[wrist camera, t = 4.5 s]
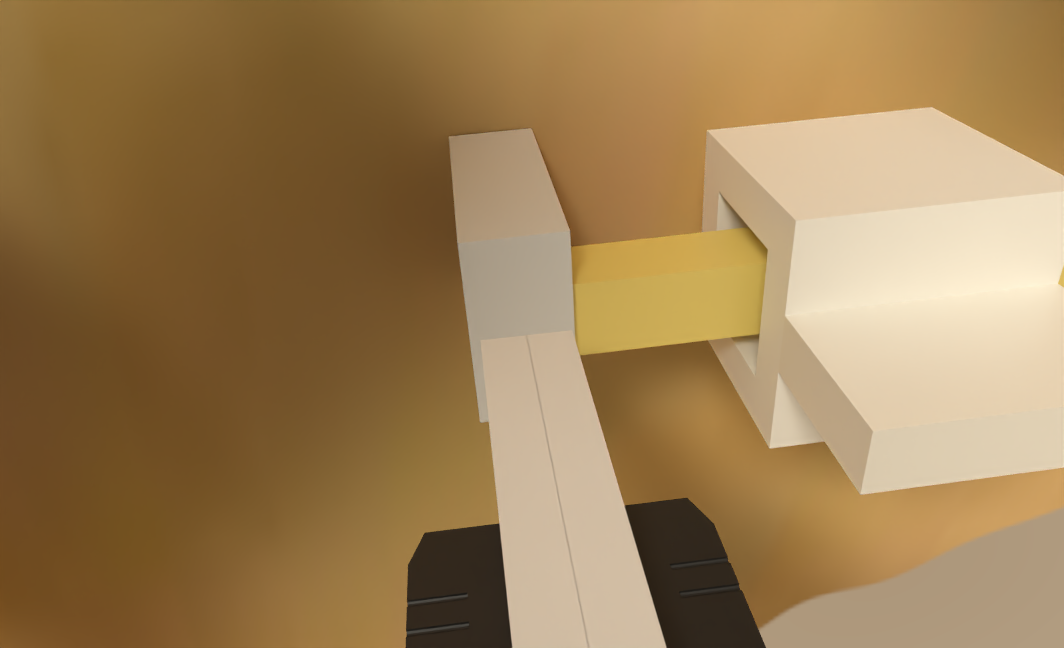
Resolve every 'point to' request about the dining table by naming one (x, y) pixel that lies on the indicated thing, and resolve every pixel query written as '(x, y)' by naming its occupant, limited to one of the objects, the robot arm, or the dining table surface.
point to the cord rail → (586, 265)
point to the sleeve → (898, 294)
